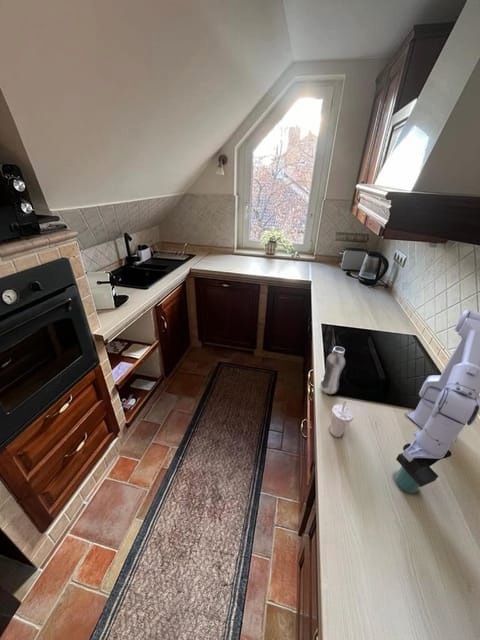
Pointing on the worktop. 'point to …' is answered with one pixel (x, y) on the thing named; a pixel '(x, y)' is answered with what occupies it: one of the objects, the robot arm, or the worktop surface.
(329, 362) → the plastic bottle
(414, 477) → the black tile
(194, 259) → the worktop surface
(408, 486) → the teal cup
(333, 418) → the smoothie
